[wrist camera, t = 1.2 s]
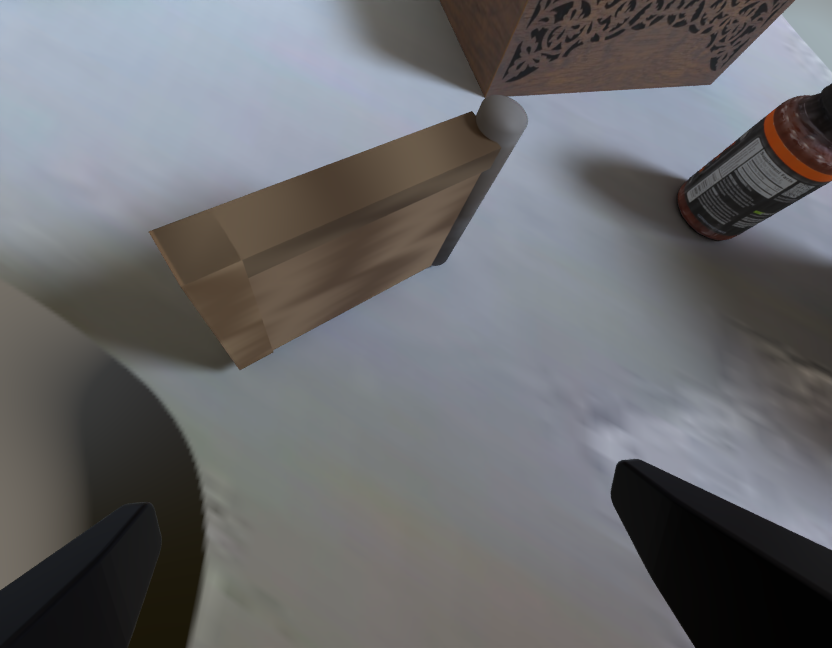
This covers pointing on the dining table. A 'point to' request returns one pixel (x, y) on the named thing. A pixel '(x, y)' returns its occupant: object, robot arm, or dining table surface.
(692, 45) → the tissue box cover
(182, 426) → the dining table surface
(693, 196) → the supplement bottle
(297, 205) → the walnut gate
